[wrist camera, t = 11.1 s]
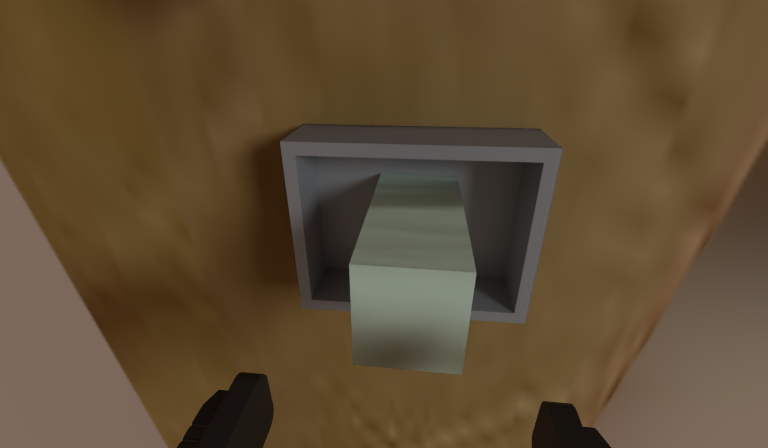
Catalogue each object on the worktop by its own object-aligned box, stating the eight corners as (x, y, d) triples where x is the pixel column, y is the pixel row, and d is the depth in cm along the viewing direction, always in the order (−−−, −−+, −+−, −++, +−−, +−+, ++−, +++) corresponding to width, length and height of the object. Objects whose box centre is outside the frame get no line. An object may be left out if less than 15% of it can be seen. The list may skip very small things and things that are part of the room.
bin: (303, 124, 22) (279, 141, 18) (539, 128, 21) (562, 148, 17) (318, 271, 27) (301, 308, 23) (511, 283, 25) (525, 323, 22)
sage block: (380, 172, 22) (349, 264, 13) (457, 175, 22) (476, 272, 13) (380, 245, 25) (353, 364, 16) (449, 249, 24) (462, 374, 15)
